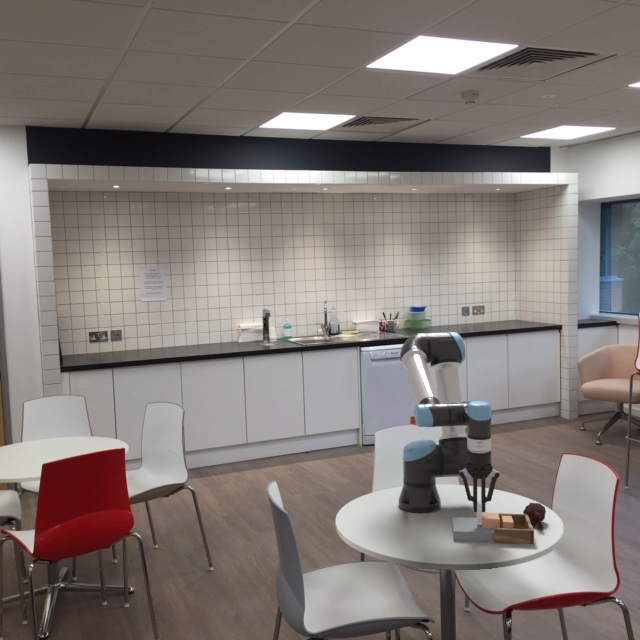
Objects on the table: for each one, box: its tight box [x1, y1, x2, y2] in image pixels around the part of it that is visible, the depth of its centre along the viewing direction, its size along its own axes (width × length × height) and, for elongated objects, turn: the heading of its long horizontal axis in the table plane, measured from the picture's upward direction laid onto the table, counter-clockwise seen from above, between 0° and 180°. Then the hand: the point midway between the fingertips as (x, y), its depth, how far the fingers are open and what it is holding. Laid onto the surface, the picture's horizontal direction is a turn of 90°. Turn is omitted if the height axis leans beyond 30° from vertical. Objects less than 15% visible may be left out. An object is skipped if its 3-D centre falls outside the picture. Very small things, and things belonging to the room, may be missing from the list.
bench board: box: [451, 516, 494, 543], centre depth 228 cm, size 12×12×3 cm
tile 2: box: [501, 516, 514, 529], centre depth 226 cm, size 6×6×3 cm
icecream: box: [522, 502, 547, 530], centre depth 237 cm, size 7×7×15 cm
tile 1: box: [481, 512, 500, 530], centre depth 227 cm, size 6×6×3 cm
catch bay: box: [493, 512, 535, 546], centre depth 226 cm, size 14×12×4 cm
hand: (479, 521), depth 227 cm, fingers closed
